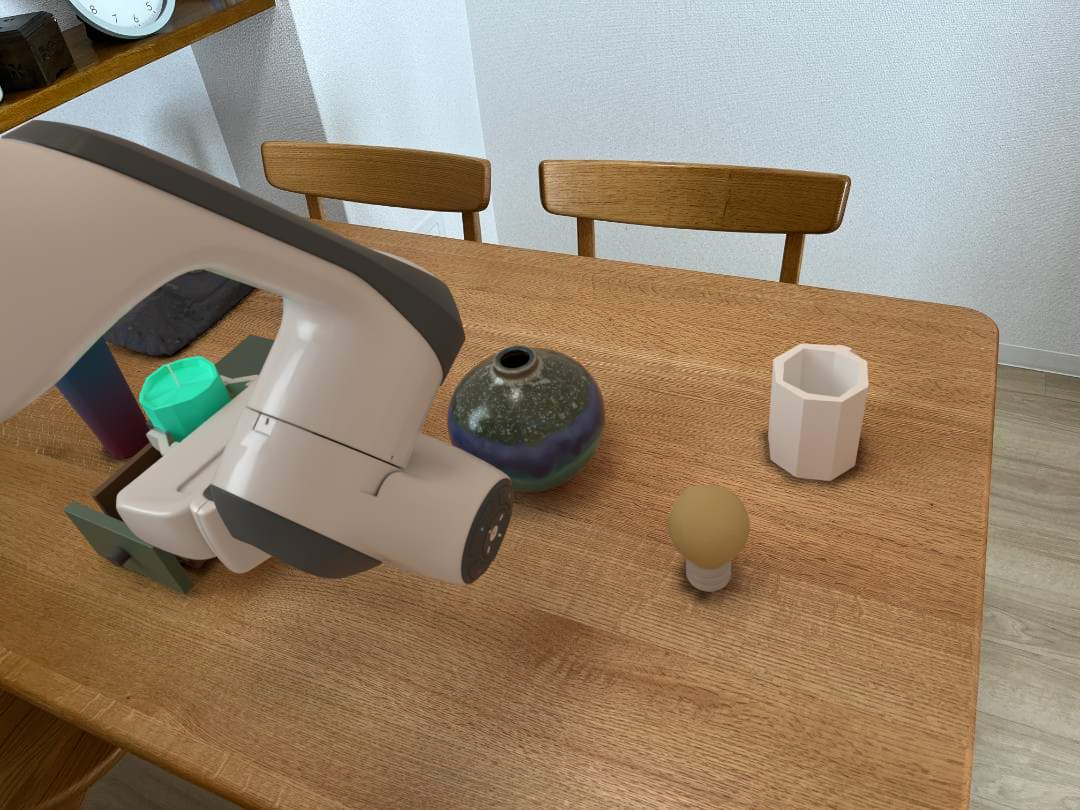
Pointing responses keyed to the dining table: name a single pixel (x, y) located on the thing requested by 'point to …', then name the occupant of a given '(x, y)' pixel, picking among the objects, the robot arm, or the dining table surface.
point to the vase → (529, 416)
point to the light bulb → (708, 533)
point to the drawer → (118, 539)
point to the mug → (817, 410)
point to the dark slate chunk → (176, 313)
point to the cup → (105, 401)
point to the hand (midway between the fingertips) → (186, 410)
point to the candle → (183, 395)
